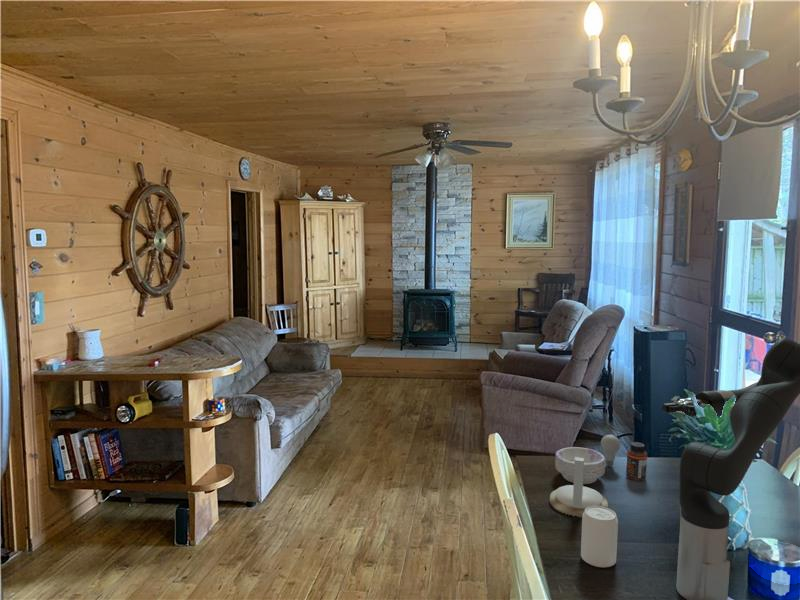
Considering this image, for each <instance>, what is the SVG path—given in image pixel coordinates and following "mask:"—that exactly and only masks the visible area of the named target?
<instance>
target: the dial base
mask: <svg viewBox="0 0 800 600" xmlns="http://www.w3.org/2000/svg"><path fill="white" fill-rule="evenodd" d="M556 490H557V489H555V490H552V492H551V493H550V496H549V503H550V505H551V507H552V508H553V509H554V510H556V511H558V512H560V513H562V514H564V513H565V514H564V515H567V514H568V516H570V515H572V516H571V517H575V516H577V517H576V518H582V515H583V513H584V512H585V509H577V508H572V507H569V506H566V505H564V504H562V503H560V502H559V501H558V500H557V499H556V497H555V496H556ZM608 503H609V502H608V500H607V499H606V498H605V497H604V496H603V495H602V505H601V506H602V507H606V508H608V507H609V504H608Z"/></svg>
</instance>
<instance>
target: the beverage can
mask: <svg viewBox="0 0 800 600" xmlns="http://www.w3.org/2000/svg"><path fill="white" fill-rule="evenodd" d="M581 518H582V519H581V538H580V539H581V542H580V558H581V559H582V560H583V561H584V562H585V563H587V564H589V565H590V566H593V567H595V568H610V567H612V566H614V565H615V564H616V563H617V552H618V551H617V550H618V549H617V548H618V533H619V530H618V529H619V520H618V517H617V513H616V512H615V511H614V510H612V509H611V508H606V507H602V506H590V507H587V508H586V509H585V512H584V513H583V515H582V517H581Z"/></svg>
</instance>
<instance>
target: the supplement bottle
mask: <svg viewBox="0 0 800 600" xmlns="http://www.w3.org/2000/svg"><path fill="white" fill-rule="evenodd" d="M626 455H627V456H626V468H625V469H626V471H625V475H626V478H628V480H629V479H630V480H631V481H636V482H643V481H645V480H646V479H647V478H646V477H647V466H648V465H647V464H648V452H647V451H646V450H645V444H644V443H642V442H637V441H633V442H631V443H630V448H629V449H628V450H627V453H626Z"/></svg>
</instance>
